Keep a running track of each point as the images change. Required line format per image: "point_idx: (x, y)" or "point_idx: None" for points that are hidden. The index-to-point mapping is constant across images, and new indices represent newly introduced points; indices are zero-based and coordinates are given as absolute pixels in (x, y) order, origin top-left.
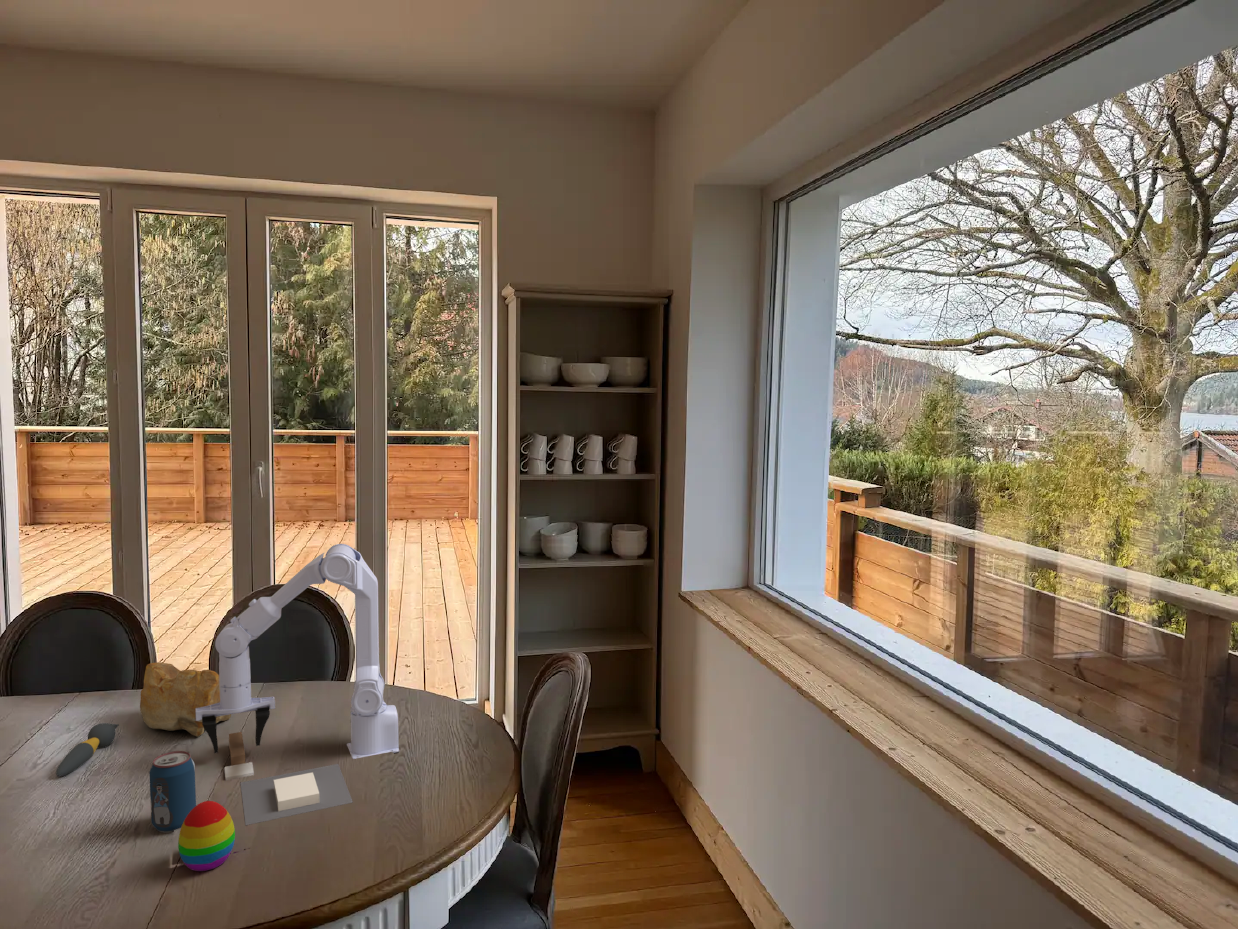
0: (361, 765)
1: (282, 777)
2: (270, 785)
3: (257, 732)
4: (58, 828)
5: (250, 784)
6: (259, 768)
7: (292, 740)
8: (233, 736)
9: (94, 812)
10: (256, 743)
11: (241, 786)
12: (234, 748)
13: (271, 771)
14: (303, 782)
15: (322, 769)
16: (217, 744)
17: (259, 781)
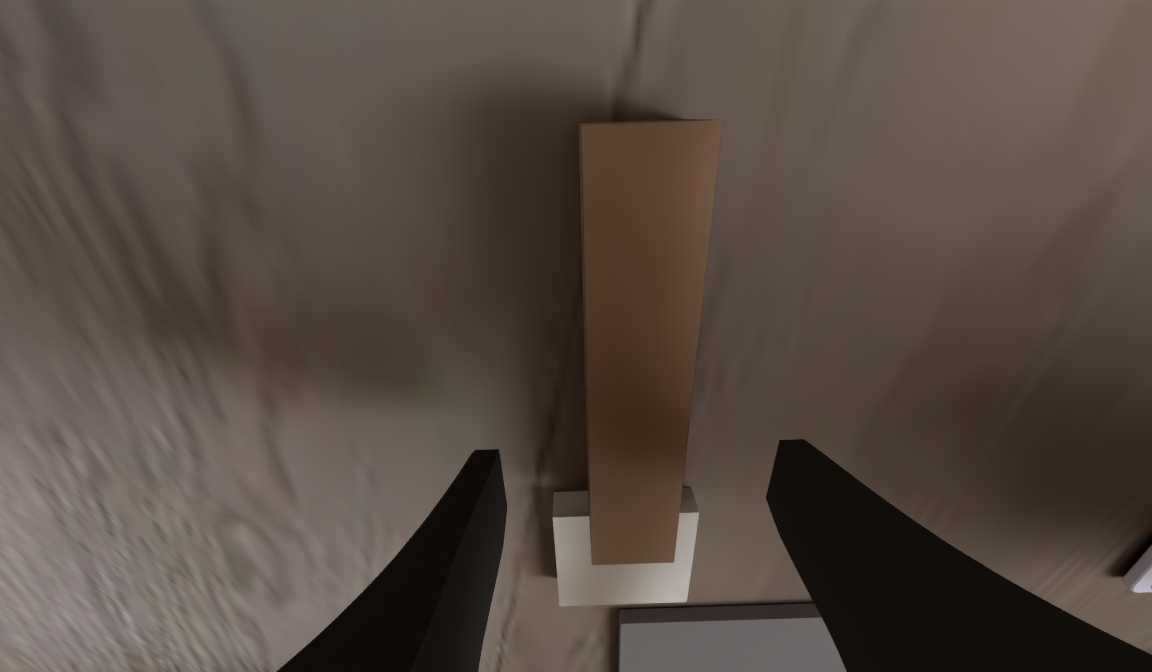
0: (1110, 610)
1: (788, 636)
2: (727, 667)
3: (833, 635)
4: (10, 664)
5: (657, 646)
6: (721, 507)
7: (1054, 202)
8: (626, 229)
9: (73, 617)
10: (776, 524)
11: (622, 648)
12: (618, 467)
13: (765, 548)
14: None
15: None
16: (494, 586)
17: (695, 638)
